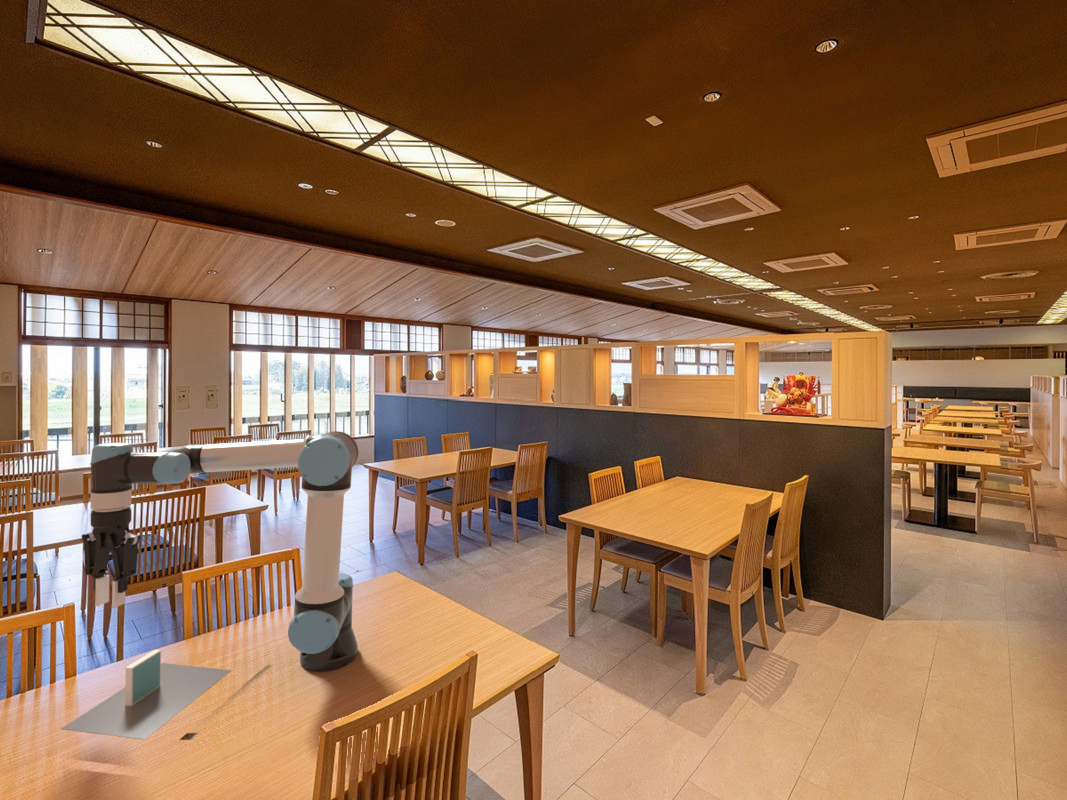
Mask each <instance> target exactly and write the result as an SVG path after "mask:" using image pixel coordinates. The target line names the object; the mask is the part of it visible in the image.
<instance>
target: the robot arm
mask: <svg viewBox="0 0 1067 800" xmlns="http://www.w3.org/2000/svg"><path fill="white" fill-rule="evenodd" d="M359 451H360V450H359V447H358V443H357V442H356V440H355V438H353V437H352V436H351V435H350V434H348V433H346V432H343V431H338V430H335V431H329V432H325V433H318V434H317V433H316V434H308V435H307V436H306V437H305V438H298V439H283V440H267V441H265V440H262V441H249V442H248V441H247V442H230V443H229V442H227V443H213V444H212V443H211V444H209V443H208V444H195V443H193V444H192V443H191V444H190V443H189V444H184V445H181V446H179V447H178V446H177V447H174V448H170V449H166V450H161V451H157V452H149V451H148V452H139V451H134V450H133V446H132V444H131V443H127V442H106V443H99V444H96V445H94V446H93V447H92V449H91V458H90V471H91V472H90V474H91V475H90V476H91V477H90V480H91V485H90V486H91V488H90V490H91V491H90V506H89V507H90V509H91V510H92V511H90V526H91V527H92V528H93V529H92V531H90V532H86V533H84V534H81V539H82V542H83V549H84V554H83V555H84V572H85V573H84V574H85V575H86V576H91V577H92V579H93V591H95V600H94V601H95V602H94V603H95V605H94V606H95V607H99V606H102V605H104V604H107V603H109V602H110V574H109V571H107V570H108V565H109V564H108V563H109V559H110V553H111V557H112V563H113V569H114V575H115V577H114V578H113V579H112V582H111V583H112V585H111V587H112V589H111V590H112V591H111V595H112V596H111V601H112V603H111V608H112V609H114V608H118V607H120V606H122V605H124V604H126V593H127V592H128V582H129V581H128V580H129V579H128V578H130V577H132V576H134V575H137V566H138V547H139V542H140V541H141V538H142V537H141V535H140V534H136V535H135V534H134V533H133V534H132V533H131V529H130V528H129V524H130V523H131V522H132V507H131V505H132V495H133V494H132V489H133V487H132V486H133V484H134V485H135V484H140V485H141V484H145V485H146V484H148V485H149V484H152V485H154V484H155V485H171V484H181V483H183V482H185V481H186V479H187V478H188V477H189V475H192V474H207V473H217V472H218V473H220V472H233V471H251V470H269V469H270V470H271V469H281V468H282V469H283V468H284V469H285V468H298V472H299V473H300V475H301V489H302V490H303V491H304V493H305V494H306V495H307V498H306V499H307V503H306V517H305V518H306V520H305V535H304V552H303V567H302V586H301V587H300V588H299V590H297V591H296V592H295V596H294V609H293V610H294V611H293V617H292V619H291V620H290V623H289V625H288V629H287V638H288V641H289V643H290V644H291V646H292V647H293V648H295V649H297V651H299V652H300V654H299V655H300V656H299V663H300V665H301V666H302V667H303V668H305V669H306V670H309V671H316V672H323V671H325V672H326V671H331V670H336V669H338V668H339V669H340V668H341V667H344V666H346V665H348V664H349V663H351V662H352V661H354V659H356V657H357V656H358V648H359V647H358V642H357V638H356V636H355V632H354V629H353V625H352V623H353V622H352V621H353V618H352V617H353V592H354V591H353V590H354V589H353V588H354V583H353V577H352V576H351V575H349V574H347V573H341V572H340V566H341V565H340V564H341V548H342V536H343V535H342V533H343V532H342V531H343V517H344V516H343V515H344V500H345V499H344V498H345V494H346V493H347V492H348V491H349V490H350V489H351V487H352V473H353V471H352V469H353V467H354V466H355V464H356V462H357V461H358V457H359ZM126 591H127V592H126Z"/></svg>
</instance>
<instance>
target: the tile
mask: <svg viewBox="0 0 1067 800" xmlns="http://www.w3.org/2000/svg"><path fill="white" fill-rule="evenodd" d="M161 657H162V650H161V649H154V650H152V651H150V652H149V653H147V654H145V655H144V656H142V657H141V658H139V659H137V660H136V661H135V662H132V663H131V664H129V665H127V666H126V667H125V687H124V688H125V706H132V705H134V704H135V703H136V702H138V701H139V700H141V699H142V698H144V697H145V696H146V695H148V694H149V693H151V692H152V691H154V690H155V689H157V688H158V687H159V686H160V676H161V664H162V658H161Z"/></svg>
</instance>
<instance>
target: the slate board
mask: <svg viewBox="0 0 1067 800" xmlns="http://www.w3.org/2000/svg"><path fill="white" fill-rule="evenodd" d="M232 671H233V670H231V669H222V668H213V667H205V666H204V667H203V666H194V665H186V664H185V665H183V664H174V663H167V662H161V676H160V686H159V687H158V688H157V689H155V690H154V691H152V692H151V693H149V694H148V695H146V696H145V697H144V698H142V699H141V700H139V701H138V702H136V703H135V704H134V705H132V706H125V687H123V688H122V689H120V690H119V691H117V692H116V693H114V694H112V695H111V696H110V697H108V698H106V699H104V700H103V701H101V702H100V703H98V704H97V705H95V706H93V708H90V709H89V710H87V711H86V712H84V713H83V714H81V715H79V716H78V717H77V718H75V719H74V720H72V721H70V722H69V723H67V724H66V725H64V726H63V727H61V728H60V730H65V731H73V732H80V733H81V732H82V733H89V734H98V735H107V736H116V737H123V738H131V739H138V740H146V739H147V738H148V737H150V736H151V735H153V734H154V733H155V732H156V731H158V730H159V729H160V728H161V727H162V726H164V725H165V724H166V723H167V722H169V721H170V720H172V719H173V718H174V717H175V716H177V715H178V714H179V713H180V712H182V711H183V710H185V708H186V707H188V706H189V705H190V704H191V703H193V702H194V701H196V699H199V697H200V696H202V695H203V694H204V693H205V692H207V691H208V690H209V689H210V688H212V687H213V686H214V685H215V684H217V683H218V682H219V681H220V680H221V679H223V678H225V676H227V675H229V673H231V672H232Z"/></svg>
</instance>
